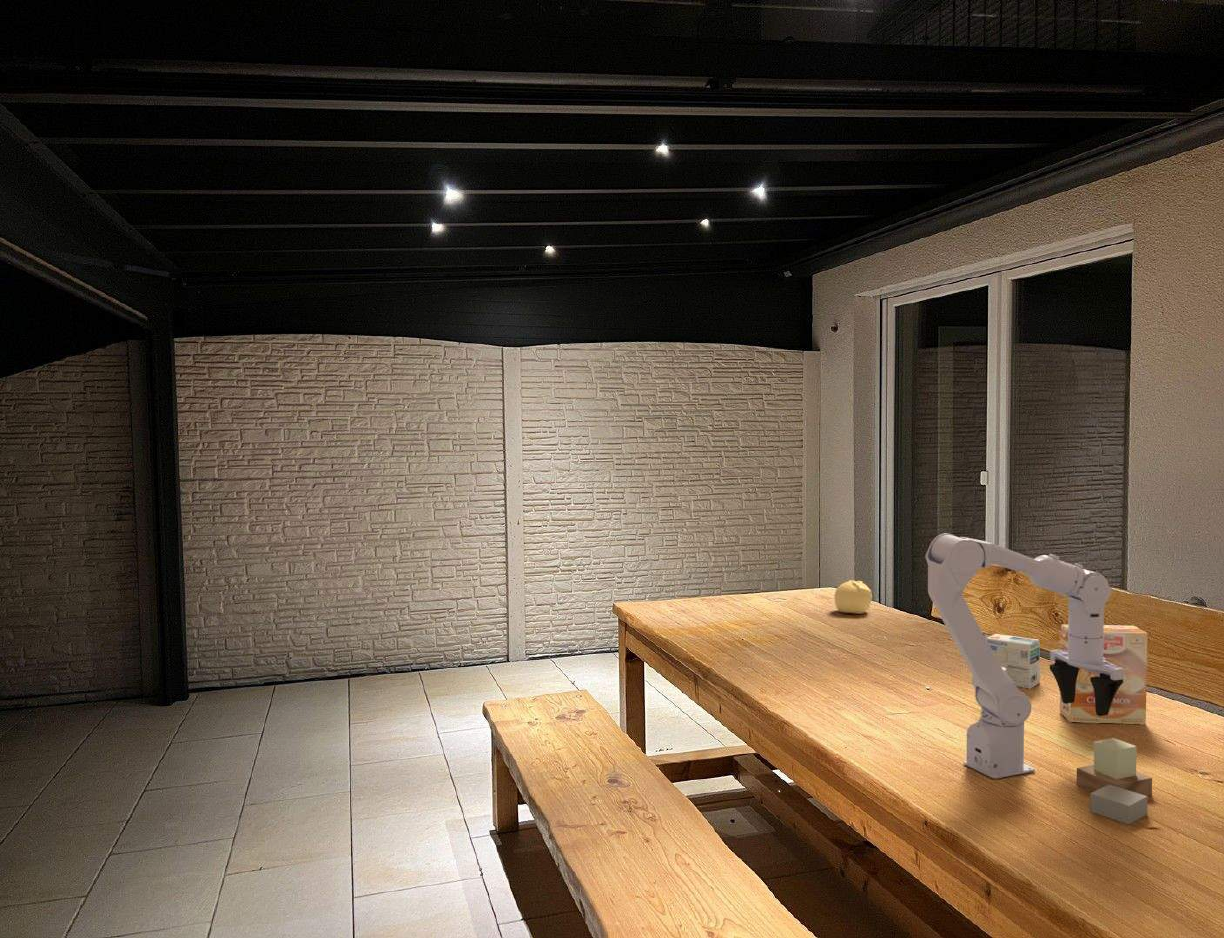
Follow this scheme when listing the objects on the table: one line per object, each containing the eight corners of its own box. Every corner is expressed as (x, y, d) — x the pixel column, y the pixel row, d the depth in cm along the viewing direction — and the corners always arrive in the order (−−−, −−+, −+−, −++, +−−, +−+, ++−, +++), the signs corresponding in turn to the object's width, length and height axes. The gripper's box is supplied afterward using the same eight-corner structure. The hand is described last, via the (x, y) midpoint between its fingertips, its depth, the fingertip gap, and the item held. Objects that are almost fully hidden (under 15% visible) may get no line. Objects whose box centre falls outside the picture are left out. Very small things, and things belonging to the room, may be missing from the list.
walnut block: (1116, 802, 150) (1116, 784, 150) (1076, 784, 157) (1076, 767, 157) (1151, 795, 153) (1152, 777, 152) (1111, 777, 160) (1111, 761, 160)
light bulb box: (1040, 683, 217) (1041, 638, 217) (1031, 689, 212) (1031, 644, 212) (995, 675, 225) (995, 632, 224) (984, 681, 220) (985, 637, 219)
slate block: (1128, 824, 142) (1129, 805, 142) (1090, 811, 147) (1090, 793, 147) (1147, 814, 145) (1147, 796, 145) (1108, 802, 150) (1109, 784, 150)
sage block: (1116, 779, 152) (1116, 750, 152) (1093, 769, 156) (1094, 741, 156) (1136, 775, 154) (1136, 746, 153) (1113, 765, 158) (1113, 737, 158)
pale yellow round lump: (876, 615, 294) (876, 582, 293) (839, 616, 294) (839, 583, 293) (866, 608, 305) (866, 576, 305) (830, 609, 305) (830, 577, 305)
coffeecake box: (1070, 723, 189) (1071, 631, 188) (1058, 712, 196) (1059, 623, 195) (1147, 725, 187) (1148, 632, 186) (1132, 714, 194) (1133, 624, 193)
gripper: (1136, 642, 160) (1136, 717, 160) (1070, 625, 173) (1070, 694, 174) (1106, 646, 157) (1105, 722, 158) (1041, 628, 171) (1041, 699, 172)
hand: (1085, 708), depth 166 cm, fingers open, 7 cm apart
